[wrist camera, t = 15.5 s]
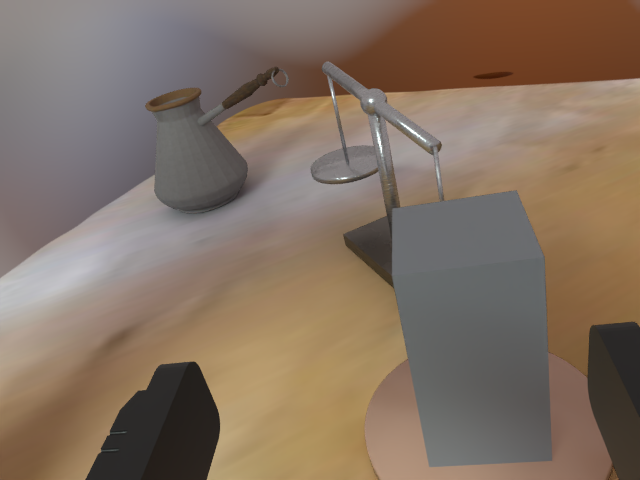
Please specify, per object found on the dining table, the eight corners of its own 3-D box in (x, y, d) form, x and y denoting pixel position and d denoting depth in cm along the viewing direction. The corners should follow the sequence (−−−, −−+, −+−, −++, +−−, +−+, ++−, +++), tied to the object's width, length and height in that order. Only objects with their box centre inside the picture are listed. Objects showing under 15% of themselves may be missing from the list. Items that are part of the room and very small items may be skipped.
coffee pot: (144, 219, 69) (93, 99, 62) (203, 176, 77) (164, 66, 70) (288, 231, 58) (246, 86, 51) (340, 180, 66) (310, 49, 59)
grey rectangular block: (429, 467, 29) (391, 275, 24) (424, 382, 34) (392, 208, 29) (552, 460, 28) (544, 257, 22) (527, 374, 33) (516, 190, 27)
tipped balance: (315, 223, 58) (274, 69, 50) (375, 199, 60) (344, 46, 52) (441, 339, 39) (407, 119, 31) (524, 298, 41) (511, 80, 33)
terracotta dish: (331, 409, 36) (328, 397, 35) (501, 324, 39) (500, 312, 38) (454, 596, 25) (451, 583, 24) (675, 456, 28) (677, 442, 27)
